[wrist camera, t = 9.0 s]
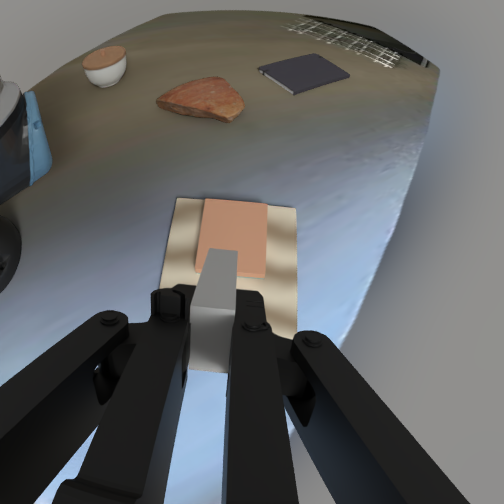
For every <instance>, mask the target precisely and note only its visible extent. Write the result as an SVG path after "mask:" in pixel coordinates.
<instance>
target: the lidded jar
mask: <svg viewBox="0 0 504 504" xmlns="http://www.w3.org/2000/svg"><path fill="white" fill-rule="evenodd" d="M82 65H83V68H84V71H85V74H86V76H87V78H88V79H89V81H90V82H91V83H93V84H94V85H97V86H98V87H101V88H105V87H110V86H112V85H114V84H116V83H117V82H119V81H120V79H121V77H122V76H123V74H124V72H125V69H126V51H125V48H123V47H121V46H110V47H105V48H102V49H99V50H97V51H95V52H93V53H91V54H89V55H88V56H87V57H86V58H85V59H84V60H83V62H82Z"/></svg>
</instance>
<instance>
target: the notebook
mask: <svg viewBox="0 0 504 504" xmlns="http://www.w3.org/2000/svg"><path fill="white" fill-rule="evenodd" d="M259 69H260V70H259V72H260V73H262V74H263V75H265V76H267V77H268V78H270V79H271V80H273V81H274V82H276V83H277V84H279V85H280V86H282V87H283V88H285V89H286V90H288V91H289V92H290V93H292V94H293V95H296V94H299V93H301V92H304V91H307V90H310V89H313V88H316V87H320V86H323V85H326V84H329V83H332V82H336V81H339V80H342V79H346V78H349V77H350V74H348V73H347V72H345V71H344V70H342V69H341V68H339V67H338V66H336V65H334V64H333V63H331V62H329V61H328V60H326V59H325V58H323V57H321V56H319V55H318V54H309V55H305V56H300V57H296V58H291V59H287V60H283V61H279V62H275V63H272V64H268V65H264V66H261V67H259Z"/></svg>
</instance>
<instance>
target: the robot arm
mask: <svg viewBox="0 0 504 504" xmlns="http://www.w3.org/2000/svg"><path fill="white" fill-rule="evenodd" d="M51 166H52V155H51V152H50V148H49V145H48V141H47V138H46V134H45V131H44V127H43V123H42V120H41V116H40V112H39V108H38V104H37V100H36V96H35V92H34V91H29V92H25V93H24V94H23V95H22V93H21V91H20V88H19V86H18V85H17V84H16V83H14V82H5V81H2V79H1V76H0V205H1V204H2V203H4V202H5V201H7V200H8V199H10V198H11V197H13V196H14V195H16V194H17V193H19V192H20V191H22V190H24V189H25V188H27V187H28V186H31V185H33V183H34V182H35V181H36V180H38V179H39V178H40V177H42V176H43V175H45V174H46V173H47V172H48V171H49V170H50V168H51ZM20 254H21V239H20V235H19V232H18V230H17V229H16V227H15V226H14V225H13V224H12V223H11V222H10V221H9V220H8V219H7V218H5V217H3V216H1V215H0V293H1V292H2V291H3V290H4V289H5V288H6V286H7V285H8V284H9V282H10V281H11V279H12V277H13V275H14V273H15V271H16V269H17V266H18V263H19V259H20ZM237 259H238V251H234V250H224V249H214V248H209V250H208V253H207V256H206V259H205V262H204V265H203V268H202V271H201V274H200V277H199V280H198V283H197V286H196V285H187V284H177V285H175V286H174V287H172V288H161V289H157V290H155V291H153V292H152V293H151V316H150V318H149V320H148V322H144V323H128V317H127V316H126V315H125V314H123V313H121V312H118V311H114V310H111V311H110V310H107V311H103V312H99V313H97V314H95V315H94V316H93V317H91V318H90V319H88V320H87V321H86V322H84V323H83V324H82V325H80V326H79V327H78V328H76V329H75V330H73V331H72V332H71V333H69V334H68V335H67V336H65V337H64V338H63V339H61V340H60V341H59V342H57V343H56V344H55V345H53V346H52V347H51V348H49V349H48V350H47V351H46V352H44V353H43V354H42V355H40V356H39V357H38V358H36V359H35V360H34V361H32V362H31V363H30V364H29V365H27V366H26V367H25V368H23V369H22V370H21V371H20V372H18V373H17V374H16V375H15V376H13V377H12V378H11V379H9V380H8V381H7V382H6V383H4V384H3V385H2V386H1V387H0V504H34V502H35V501H36V500H37V499H38V497H39V496H40V495H41V494H42V493H43V491H44V490H45V489H46V488H47V486H48V485H49V484H50V483H51V482H52V480H53V479H54V478H55V477H56V476H57V474H58V473H59V472H60V471H61V469H62V468H63V467H64V466H65V465H66V463H67V462H68V461H69V460H70V459H71V457H72V456H73V455H74V454H75V453H76V451H77V450H78V449H79V448H80V446H81V445H82V444H83V443H84V442H85V440H86V439H87V438H88V437H89V436H90V434H91V433H92V432H93V431H94V430H95V428H96V427H97V426H98V425H99V426H98V428H97V430H96V432H95V435H94V437H93V439H92V442H91V444H90V447H89V449H88V451H87V454H86V456H85V459H84V461H83V463H82V466H81V468H80V471H79V473H78V475H77V477H76V478H74V479H66V480H65V481H63V482H62V483H61V484H60V486H59V488H58V490H57V492H56V494H55V497H54V499H53V502H52V504H164V498H165V492H166V486H167V480H168V475H169V469H170V463H171V458H172V453H173V447H174V442H175V437H176V432H177V426H178V421H179V416H180V411H181V406H182V401H183V397H184V392H185V387H186V382H187V367H188V363H189V369H191V370H200V371H209V372H218V373H228V380H227V390H226V414H225V434H224V455H223V478H222V502H221V504H299V501H298V495H297V488H296V481H295V474H294V467H293V461H292V454H291V448H290V441H289V434H288V428H287V421H286V415H285V409H286V411H287V413H288V415H289V417H290V419H291V421H292V423H293V425H294V426H295V428H296V430H297V432H298V434H299V436H300V438H301V440H302V442H303V444H304V446H305V447H306V449H307V451H308V453H309V455H310V457H311V459H312V461H313V462H314V464H315V466H316V468H317V470H318V472H319V474H320V476H321V477H322V479H323V481H324V483H325V485H326V487H327V488H328V490H329V492H330V494H331V496H332V497H333V499H334V501H335V503H336V504H470V503H469V502H468V501H467V500H466V499H465V497H464V496H463V495H462V494H461V493H460V491H459V490H458V489H457V488H456V487H455V485H454V484H453V483H452V482H451V481H450V480H449V478H448V477H447V476H446V475H445V474H444V473H443V471H442V470H441V469H440V468H439V467H438V465H437V464H436V463H435V462H434V461H433V459H431V457H430V456H429V455H428V454H427V453H426V451H425V450H424V449H423V448H422V447H421V445H420V444H419V443H418V442H417V441H416V440H415V438H414V437H413V436H412V435H411V434H410V432H409V431H408V430H407V429H406V428H405V427H404V425H403V424H402V423H401V422H400V421H399V420H398V418H397V417H396V416H395V415H394V414H393V412H392V411H391V410H390V409H389V408H388V407H387V405H386V404H385V403H384V402H383V401H382V400H381V398H380V397H379V396H378V395H377V394H376V393H375V391H374V390H373V389H372V388H371V387H370V385H369V384H368V383H367V382H366V381H365V380H364V378H363V377H362V376H361V375H360V374H359V373H358V371H357V370H356V369H355V368H354V367H353V366H352V364H351V363H350V362H349V361H348V360H347V359H346V357H345V356H344V355H343V354H342V353H341V352H340V350H339V349H338V348H337V347H336V346H335V345H334V343H333V342H332V341H331V340H330V339H329V338H328V337H327V336H326V335H324V334H321V333H319V332H317V331H311V330H310V331H300V332H298V333H296V334H295V335H294V337H293V340H292V339H288V338H284V337H281V336H278V335H276V334H274V333H273V332H272V327H271V325H270V324H269V323H268V322H267V319H266V313H265V306H264V299H263V296H262V295H261V294H260V293H259V292H258V291H253V290H243V289H236V283H237ZM97 365H98V368H97V369H96V370H95V368H96V367H97ZM284 407H285V409H284Z"/></svg>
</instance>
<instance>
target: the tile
mask: <svg viewBox="0 0 504 504" xmlns="http://www.w3.org/2000/svg"><path fill="white" fill-rule="evenodd" d="M267 213H268V204H264V203H253V202H242V201H231V200H219V199H207V198H206V199H205V205H204V211H203V217H202V223H201V230H200V236H199V243H198V250H197V257H196V264H195V272H196V273H199V274H201V271H202V268H203V265H204V262H205V259H206V256H207V253H208V250H209V248H214V249H224V250H234V251H238V259H237V277H245V278H257V279H264V277H265V271H266V243H267Z"/></svg>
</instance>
